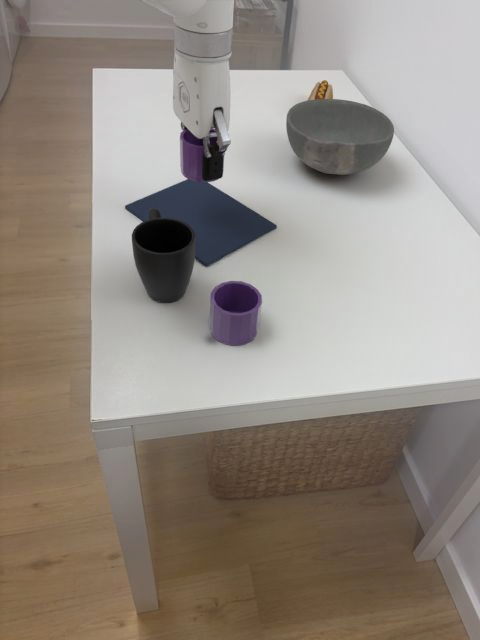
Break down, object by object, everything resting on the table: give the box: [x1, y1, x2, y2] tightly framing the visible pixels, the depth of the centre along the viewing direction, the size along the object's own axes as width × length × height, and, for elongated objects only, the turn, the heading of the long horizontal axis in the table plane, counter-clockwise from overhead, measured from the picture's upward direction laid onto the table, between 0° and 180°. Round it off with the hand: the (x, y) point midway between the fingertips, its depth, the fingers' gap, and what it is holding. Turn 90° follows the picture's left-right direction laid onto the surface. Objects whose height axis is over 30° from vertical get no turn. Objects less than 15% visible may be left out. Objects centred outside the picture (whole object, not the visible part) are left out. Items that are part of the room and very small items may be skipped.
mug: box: [131, 208, 196, 304], centre depth 73 cm, size 8×12×10 cm
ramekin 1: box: [179, 128, 225, 183], centre depth 80 cm, size 7×7×6 cm
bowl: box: [285, 98, 395, 176], centre depth 101 cm, size 20×20×10 cm
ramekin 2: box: [209, 280, 263, 347], centre depth 70 cm, size 7×7×6 cm
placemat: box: [124, 178, 278, 267], centre depth 88 cm, size 20×16×1 cm
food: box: [307, 79, 334, 101], centre depth 120 cm, size 14×6×5 cm, turn 169°
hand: (202, 165), depth 81 cm, fingers closed on ramekin 1, 6 cm apart
